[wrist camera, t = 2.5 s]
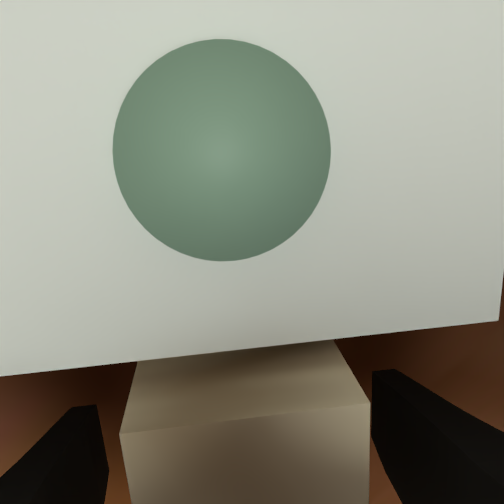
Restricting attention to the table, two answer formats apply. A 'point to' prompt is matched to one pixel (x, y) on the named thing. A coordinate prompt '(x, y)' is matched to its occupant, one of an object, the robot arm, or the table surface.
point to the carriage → (248, 428)
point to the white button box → (244, 174)
